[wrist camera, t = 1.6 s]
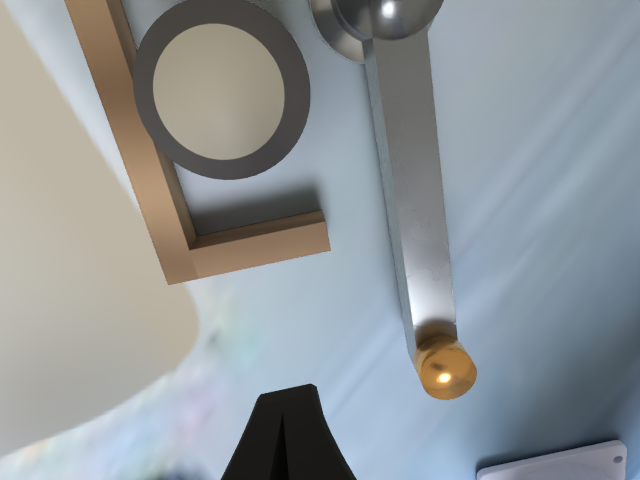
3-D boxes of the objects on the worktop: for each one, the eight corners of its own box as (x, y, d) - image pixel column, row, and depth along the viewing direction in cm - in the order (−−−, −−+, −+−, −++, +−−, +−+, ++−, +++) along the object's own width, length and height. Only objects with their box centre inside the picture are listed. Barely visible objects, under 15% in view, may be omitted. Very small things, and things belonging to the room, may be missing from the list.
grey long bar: (461, 340, 19) (494, 389, 16) (390, 356, 19) (409, 408, 16) (422, -79, 14) (460, -121, 11) (320, -57, 14) (330, -93, 11)
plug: (310, 129, 17) (327, 166, 10) (207, 152, 17) (159, 201, 10) (287, 14, 15) (289, -29, 9) (174, 38, 15) (94, 13, 9)
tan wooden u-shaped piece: (327, 236, 18) (330, 250, 17) (176, 269, 18) (168, 285, 17) (249, -139, 14) (245, -164, 12) (48, -97, 14) (22, -116, 12)
